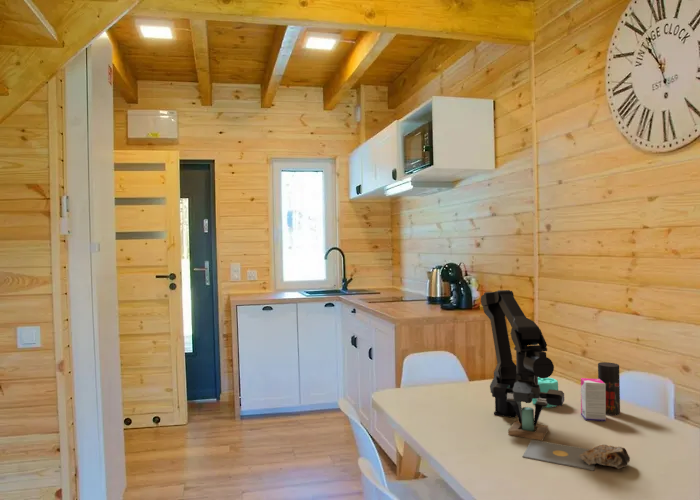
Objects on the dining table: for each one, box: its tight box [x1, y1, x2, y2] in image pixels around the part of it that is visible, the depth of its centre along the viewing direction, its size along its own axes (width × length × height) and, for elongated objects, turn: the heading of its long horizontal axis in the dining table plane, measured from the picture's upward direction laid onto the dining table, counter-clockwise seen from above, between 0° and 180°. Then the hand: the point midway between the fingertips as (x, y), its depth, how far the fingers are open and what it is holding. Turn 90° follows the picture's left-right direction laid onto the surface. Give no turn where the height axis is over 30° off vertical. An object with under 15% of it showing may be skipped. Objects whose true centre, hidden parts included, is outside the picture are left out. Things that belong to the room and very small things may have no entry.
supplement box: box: [580, 377, 607, 422], centre depth 150 cm, size 6×6×12 cm
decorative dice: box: [531, 377, 559, 408], centre depth 164 cm, size 8×8×8 cm
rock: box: [579, 444, 631, 470], centre depth 118 cm, size 9×6×10 cm
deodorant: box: [597, 361, 621, 416], centre depth 155 cm, size 6×6×15 cm
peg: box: [521, 406, 535, 432], centre depth 139 cm, size 3×3×6 cm
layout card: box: [522, 439, 596, 471], centre depth 124 cm, size 16×12×1 cm
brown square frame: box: [507, 420, 549, 441], centre depth 139 cm, size 9×9×1 cm
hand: (528, 424), depth 139 cm, fingers open, 4 cm apart
